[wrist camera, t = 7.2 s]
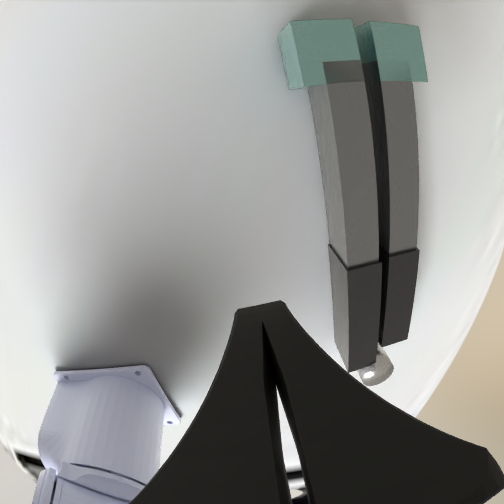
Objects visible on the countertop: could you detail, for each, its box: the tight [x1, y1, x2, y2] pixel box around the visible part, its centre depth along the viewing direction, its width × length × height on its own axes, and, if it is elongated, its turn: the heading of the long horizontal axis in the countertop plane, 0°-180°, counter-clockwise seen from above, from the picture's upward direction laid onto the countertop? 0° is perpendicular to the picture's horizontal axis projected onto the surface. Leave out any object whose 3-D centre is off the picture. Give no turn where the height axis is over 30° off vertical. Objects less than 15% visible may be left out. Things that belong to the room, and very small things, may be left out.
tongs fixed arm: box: [354, 21, 428, 347], centre depth 16 cm, size 19×3×3 cm, turn 10°
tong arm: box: [278, 19, 394, 386], centre depth 16 cm, size 22×4×3 cm, turn 11°
